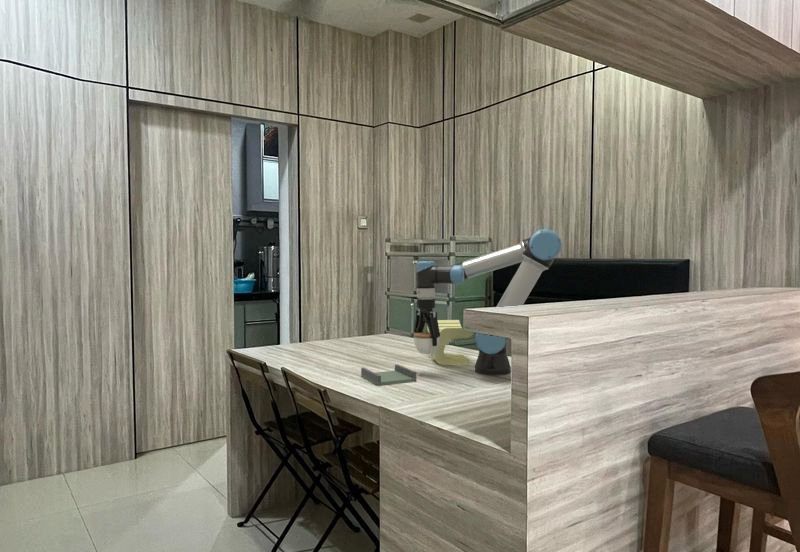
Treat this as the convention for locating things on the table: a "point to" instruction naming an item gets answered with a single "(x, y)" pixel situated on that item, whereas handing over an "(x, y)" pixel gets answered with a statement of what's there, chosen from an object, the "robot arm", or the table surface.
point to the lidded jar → (423, 342)
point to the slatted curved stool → (447, 333)
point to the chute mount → (389, 376)
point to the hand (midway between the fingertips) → (426, 351)
